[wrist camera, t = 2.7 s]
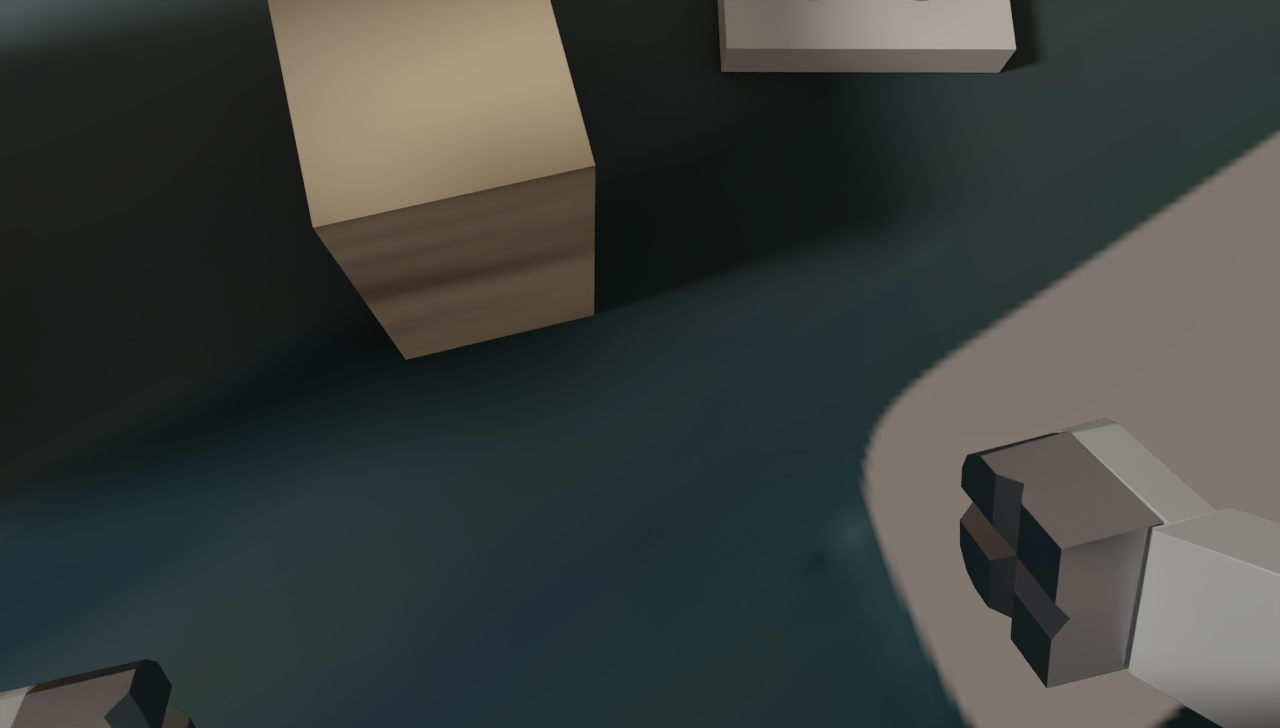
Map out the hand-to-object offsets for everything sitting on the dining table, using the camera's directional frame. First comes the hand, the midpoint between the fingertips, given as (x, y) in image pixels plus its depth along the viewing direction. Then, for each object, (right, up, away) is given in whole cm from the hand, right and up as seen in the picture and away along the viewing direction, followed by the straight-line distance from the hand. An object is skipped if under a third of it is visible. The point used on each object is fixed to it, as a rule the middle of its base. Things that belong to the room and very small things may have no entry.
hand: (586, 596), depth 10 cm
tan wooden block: (-4, +8, +17) cm, 19 cm away
